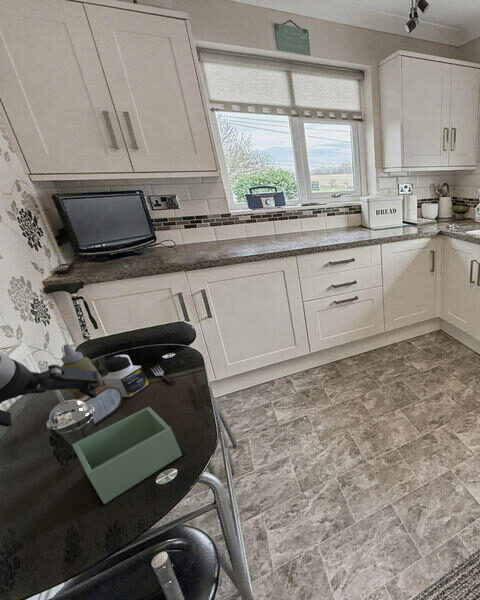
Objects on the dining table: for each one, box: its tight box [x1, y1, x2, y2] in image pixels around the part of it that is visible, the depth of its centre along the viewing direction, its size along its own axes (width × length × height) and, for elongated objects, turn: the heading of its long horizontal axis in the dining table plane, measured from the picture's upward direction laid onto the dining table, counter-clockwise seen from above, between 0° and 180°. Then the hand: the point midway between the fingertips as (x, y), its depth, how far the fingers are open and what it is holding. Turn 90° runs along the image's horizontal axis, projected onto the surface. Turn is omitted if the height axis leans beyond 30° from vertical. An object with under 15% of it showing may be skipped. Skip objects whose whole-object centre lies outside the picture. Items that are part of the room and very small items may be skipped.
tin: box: [78, 384, 123, 425], centre depth 90 cm, size 15×3×8 cm, turn 168°
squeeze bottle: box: [60, 343, 104, 399], centre depth 102 cm, size 8×8×18 cm
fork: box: [150, 366, 174, 385], centre depth 110 cm, size 3×16×2 cm, turn 53°
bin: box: [72, 406, 183, 505], centre depth 74 cm, size 15×15×8 cm
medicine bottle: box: [102, 354, 149, 398], centre depth 103 cm, size 7×7×12 cm
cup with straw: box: [45, 390, 98, 452], centre depth 78 cm, size 8×9×20 cm
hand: (53, 405), depth 71 cm, fingers open, 13 cm apart
